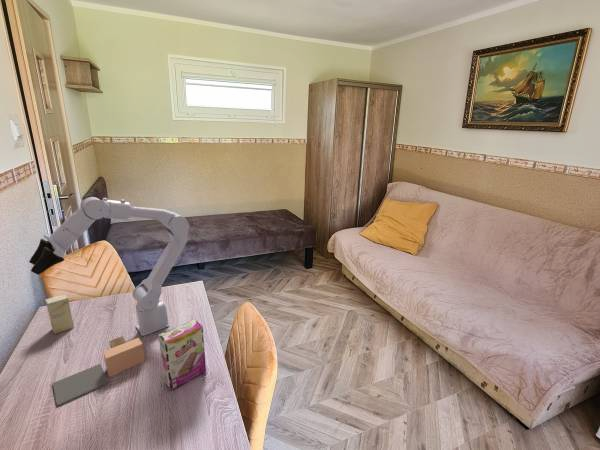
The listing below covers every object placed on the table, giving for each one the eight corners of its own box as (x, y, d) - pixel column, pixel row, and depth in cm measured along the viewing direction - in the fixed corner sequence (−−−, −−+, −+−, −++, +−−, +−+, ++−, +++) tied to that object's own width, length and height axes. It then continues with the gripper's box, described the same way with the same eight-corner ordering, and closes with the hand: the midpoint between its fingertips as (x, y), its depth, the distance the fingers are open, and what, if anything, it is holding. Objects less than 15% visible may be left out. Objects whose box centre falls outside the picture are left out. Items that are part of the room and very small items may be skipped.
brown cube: (124, 346, 109) (122, 336, 108) (128, 352, 106) (126, 342, 105) (111, 351, 107) (109, 341, 105) (114, 358, 104) (112, 347, 102)
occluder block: (141, 354, 105) (138, 337, 103) (145, 361, 103) (142, 343, 101) (106, 369, 99) (102, 351, 97) (109, 376, 96) (106, 358, 94)
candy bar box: (171, 392, 91) (164, 343, 86) (164, 382, 94) (157, 334, 89) (207, 371, 98) (203, 325, 93) (199, 363, 102) (194, 318, 97)
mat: (100, 364, 101) (100, 363, 100) (108, 383, 93) (108, 382, 93) (53, 384, 93) (52, 383, 93) (57, 406, 86) (57, 405, 86)
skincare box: (54, 334, 115) (46, 304, 111) (52, 328, 118) (44, 299, 114) (75, 327, 119) (68, 297, 115) (72, 321, 122) (65, 293, 118)
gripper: (54, 217, 98) (17, 252, 94) (60, 228, 88) (20, 269, 84) (76, 230, 103) (41, 265, 99) (84, 243, 92) (46, 282, 88)
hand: (33, 268), depth 92 cm, fingers open, 7 cm apart
